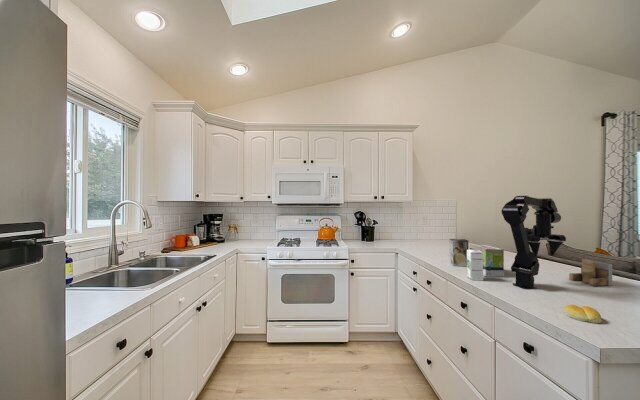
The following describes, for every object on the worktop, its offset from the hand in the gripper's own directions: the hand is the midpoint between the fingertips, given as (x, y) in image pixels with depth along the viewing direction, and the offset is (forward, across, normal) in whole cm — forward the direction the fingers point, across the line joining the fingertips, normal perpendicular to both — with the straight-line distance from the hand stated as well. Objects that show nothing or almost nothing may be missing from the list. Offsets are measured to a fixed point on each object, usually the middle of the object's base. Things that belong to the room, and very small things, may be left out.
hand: (543, 255), depth 125 cm
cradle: (+13, -19, +4) cm, 24 cm away
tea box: (+13, +16, -18) cm, 28 cm away
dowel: (+13, -20, +4) cm, 25 cm away
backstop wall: (+13, -25, +4) cm, 29 cm away
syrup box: (+13, +30, -9) cm, 34 cm away
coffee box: (+13, +19, -36) cm, 43 cm away
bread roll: (+13, +26, +36) cm, 46 cm away
